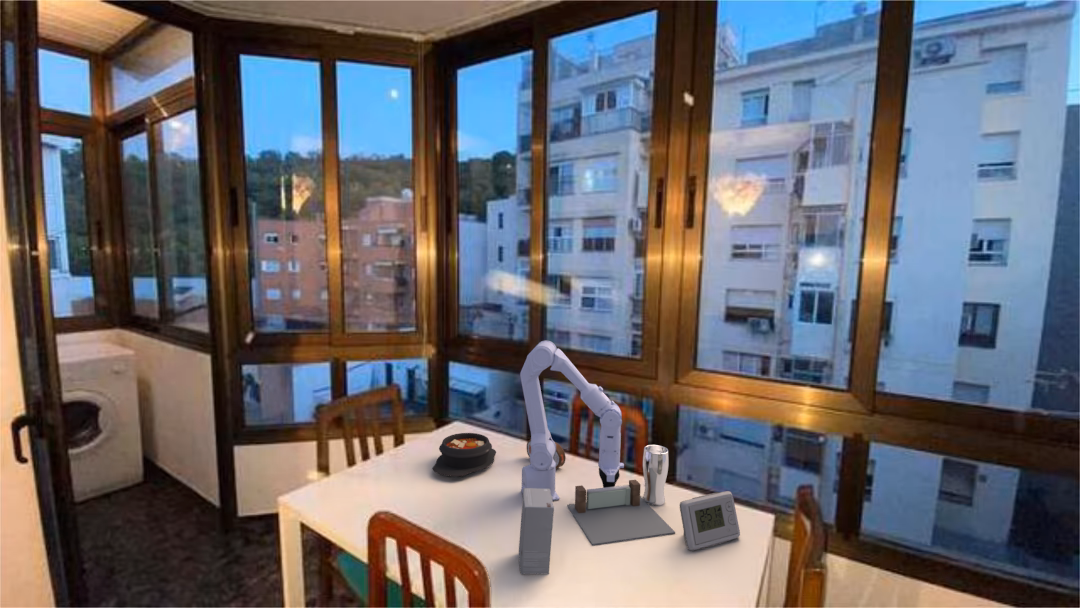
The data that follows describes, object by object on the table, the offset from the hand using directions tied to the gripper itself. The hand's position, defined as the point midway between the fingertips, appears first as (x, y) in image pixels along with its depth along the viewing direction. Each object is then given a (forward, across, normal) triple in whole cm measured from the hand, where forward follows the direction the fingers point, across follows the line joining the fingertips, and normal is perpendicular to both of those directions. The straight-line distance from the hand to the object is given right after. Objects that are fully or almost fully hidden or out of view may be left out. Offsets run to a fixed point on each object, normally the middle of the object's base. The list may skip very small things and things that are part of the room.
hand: (608, 495), depth 137 cm
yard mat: (+2, -9, -2) cm, 10 cm away
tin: (+2, +22, +19) cm, 30 cm away
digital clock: (+2, -16, -24) cm, 29 cm away
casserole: (+2, +18, +45) cm, 49 cm away
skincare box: (+2, -30, +18) cm, 35 cm away
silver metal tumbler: (+2, +2, -13) cm, 13 cm away
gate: (+1, -4, 0) cm, 4 cm away
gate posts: (+2, -4, 0) cm, 4 cm away
